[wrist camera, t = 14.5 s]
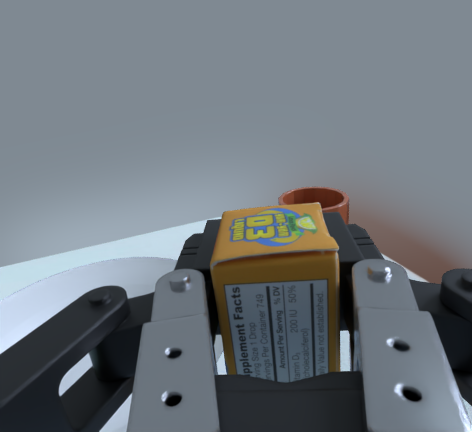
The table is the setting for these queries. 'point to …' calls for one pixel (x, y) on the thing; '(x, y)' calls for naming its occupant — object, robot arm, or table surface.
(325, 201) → the cup
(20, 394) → the robot arm
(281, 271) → the supplement box
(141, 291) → the white plate
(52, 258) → the table surface
